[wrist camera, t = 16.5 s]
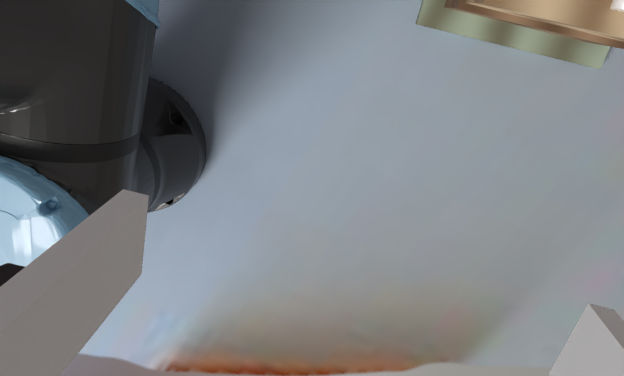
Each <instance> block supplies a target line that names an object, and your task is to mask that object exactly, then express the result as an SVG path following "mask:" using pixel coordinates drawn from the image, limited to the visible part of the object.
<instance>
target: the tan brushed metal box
mask: <svg viewBox="0 0 624 376" xmlns="http://www.w3.org/2000/svg"><path fill="white" fill-rule="evenodd" d="M612 1H613V0H423V1H422V4H421V7H420V11H419V14H418V18H417V21H416V24H418V25H422V26H426V27H430V28H434V29H438V30H442V31H446V32H450V33H454V34H458V35H462V36H467V37H471V38H475V39H479V40H483V41H487V42H491V43H495V44H499V45H503V46H507V47H511V48H516V49H520V50H524V51H528V52H532V53H536V54H540V55H544V56H548V57H552V58H556V59H560V60H564V61H569V62H573V63H577V64H581V65H585V66H589V67H593V68H597V69H601V66H602V64H603V62H604V60H605V58H606V56H607V53H608V51H609V49H610V47H616V48H622V49H623V48H624V12H622V11H618V10H612V9H610V6H611V3H612Z"/></svg>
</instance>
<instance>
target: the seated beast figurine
mask: <svg viewBox="0 0 624 376" xmlns="http://www.w3.org/2000/svg"><path fill="white" fill-rule="evenodd" d="M610 9H612V10H618V11H622V12H624V0H613V1H612V3H611V6H610Z"/></svg>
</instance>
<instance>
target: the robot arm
mask: <svg viewBox="0 0 624 376" xmlns="http://www.w3.org/2000/svg"><path fill="white" fill-rule="evenodd" d="M158 10H159V0H0V376H60V375H61V374H62V373H63V372H64V370H65V369H66V368H67V367H68V365H69V364H70V363H71V362H72V360H73V359H74V358H75V357H76V355H77V354H78V353H79V352H80V350H81V349H82V348H83V347H84V345H85V344H86V343H87V342H88V340H89V339H90V338H91V337H92V335H93V334H94V333H95V332H96V330H97V329H98V328H99V327H100V325H101V324H102V323H103V322H104V320H105V319H106V318H107V317H108V315H109V314H110V313H111V312H112V310H113V309H114V308H115V306H116V305H117V304H118V303H119V301H120V300H121V299H122V298H123V296H124V295H125V294H126V293H127V291H128V290H129V289H130V288H131V286H132V285H133V284H134V283H135V281H136V280H137V279H138V278H139V276H140V275H141V273H142V262H143V252H144V241H145V231H146V220H147V213H149V212H153V211H157V210H160V209H164V208H166V207H169V206H171V205H173V204H174V203H176V202H177V201H179V200H180V199H181V198H183V197H184V196H185V195H186V194H187V193H188V192H189V190H190V189H191V188H192V187H193V186H194V185H195V183H196V182H197V181H198V179H199V177H200V175H201V173H202V170H203V167H204V163H205V157H206V144H205V138H204V133H203V130H202V127H201V125H200V122H199V120H198V118H197V116H196V115H195V113H194V111H193V110H192V108H191V107H190V106H189V105H188V103H187V102H186V101H185V100H184V99H183V98H182V97H181V96H180V95H179V94H178V93H176V92H175V91H174V90H173V89H171V88H170V87H168V86H166V85H165V84H163V83H161V82H159V81H156V80H154V79H151V78H149V73H150V66H151V59H152V52H153V46H154V39H155V32H156V29H159V28H160V21H159V19H158ZM549 375H550V376H624V321H623V320H622V319H621V317H620V316H619V315H618V314H617V313H616V311H615V310H613V309H609V308H605V307H601V306H597V305H593V304H589V303H588V305H587V307H586V309H585V310H584V312H583V314H582V316H581V318H580V319H579V321H578V323H577V325H576V326H575V328H574V330H573V332H572V334H571V335H570V337H569V339H568V341H567V343H566V344H565V346H564V348H563V350H562V352H561V353H560V355H559V357H558V359H557V360H556V362H555V364H554V366H553V368H552V369H551V371H550V373H549Z"/></svg>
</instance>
